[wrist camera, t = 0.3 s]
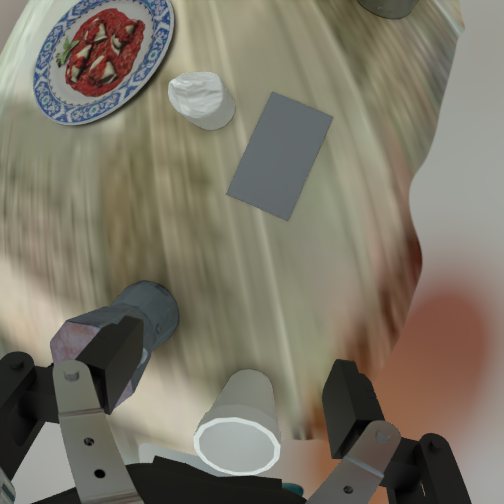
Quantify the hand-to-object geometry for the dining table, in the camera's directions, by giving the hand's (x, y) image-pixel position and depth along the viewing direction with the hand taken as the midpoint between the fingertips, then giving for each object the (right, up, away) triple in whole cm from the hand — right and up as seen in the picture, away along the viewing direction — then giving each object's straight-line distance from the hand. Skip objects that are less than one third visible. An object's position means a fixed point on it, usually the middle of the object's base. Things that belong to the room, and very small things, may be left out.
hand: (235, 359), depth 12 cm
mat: (+4, +16, +25) cm, 30 cm away
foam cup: (0, -15, +30) cm, 33 cm away
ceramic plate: (-22, +35, +25) cm, 49 cm away
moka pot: (-14, -4, +30) cm, 33 cm away
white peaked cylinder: (-4, +22, +25) cm, 33 cm away
